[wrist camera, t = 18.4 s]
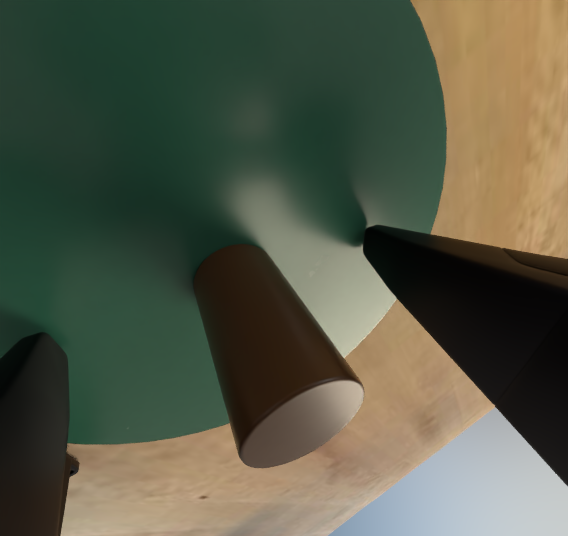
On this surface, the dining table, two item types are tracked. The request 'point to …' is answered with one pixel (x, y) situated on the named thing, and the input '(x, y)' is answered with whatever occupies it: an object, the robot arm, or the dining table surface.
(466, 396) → the dining table surface
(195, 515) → the dining table surface
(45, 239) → the pot lid
